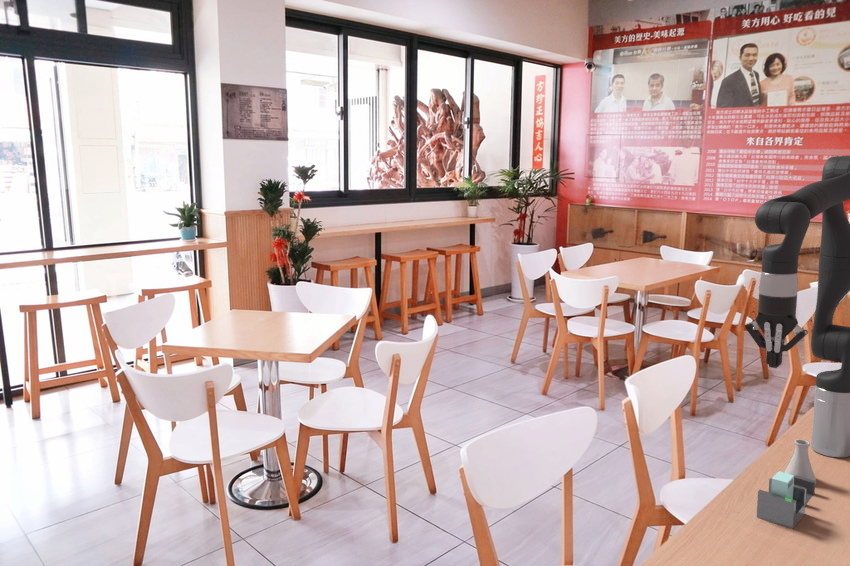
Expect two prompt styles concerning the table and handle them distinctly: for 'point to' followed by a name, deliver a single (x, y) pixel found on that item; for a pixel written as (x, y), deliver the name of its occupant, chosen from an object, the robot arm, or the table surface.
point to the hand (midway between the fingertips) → (773, 366)
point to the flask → (801, 461)
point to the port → (781, 506)
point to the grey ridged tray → (807, 484)
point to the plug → (783, 484)
